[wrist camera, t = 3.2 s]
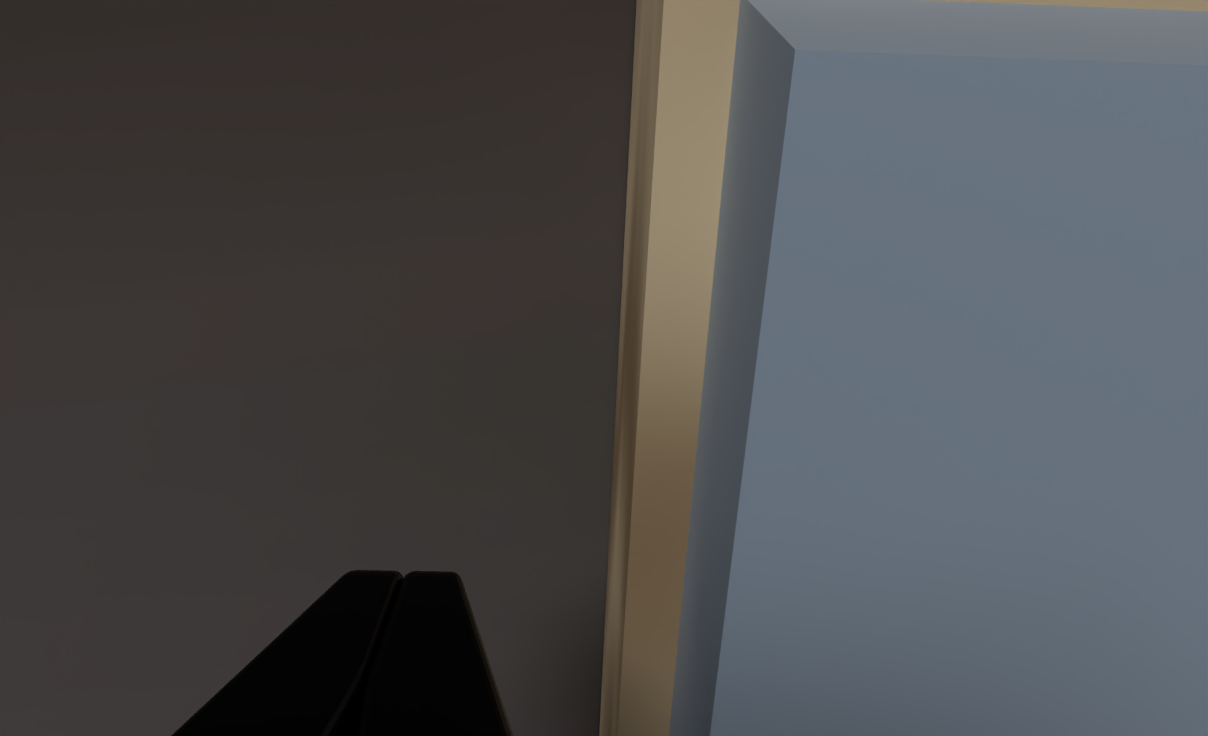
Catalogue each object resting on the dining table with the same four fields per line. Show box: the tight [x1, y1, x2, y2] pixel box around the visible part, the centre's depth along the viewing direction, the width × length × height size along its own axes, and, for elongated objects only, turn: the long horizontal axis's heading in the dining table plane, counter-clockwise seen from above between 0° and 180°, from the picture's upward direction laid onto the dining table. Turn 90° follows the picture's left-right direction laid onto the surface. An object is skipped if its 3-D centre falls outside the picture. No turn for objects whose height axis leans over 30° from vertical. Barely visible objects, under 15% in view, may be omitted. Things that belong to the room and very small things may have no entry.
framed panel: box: [599, 0, 1208, 736], centre depth 10 cm, size 18×8×4 cm, turn 178°
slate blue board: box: [669, 0, 1208, 736], centre depth 8 cm, size 9×6×2 cm, turn 178°
